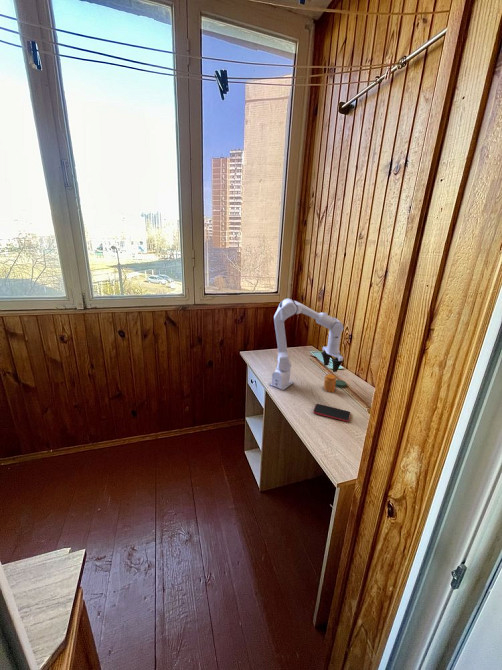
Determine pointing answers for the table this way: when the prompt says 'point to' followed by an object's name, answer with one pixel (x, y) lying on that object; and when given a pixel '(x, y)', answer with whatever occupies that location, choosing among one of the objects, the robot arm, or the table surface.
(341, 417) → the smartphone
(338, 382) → the honey lid
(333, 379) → the honey jar
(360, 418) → the table surface
